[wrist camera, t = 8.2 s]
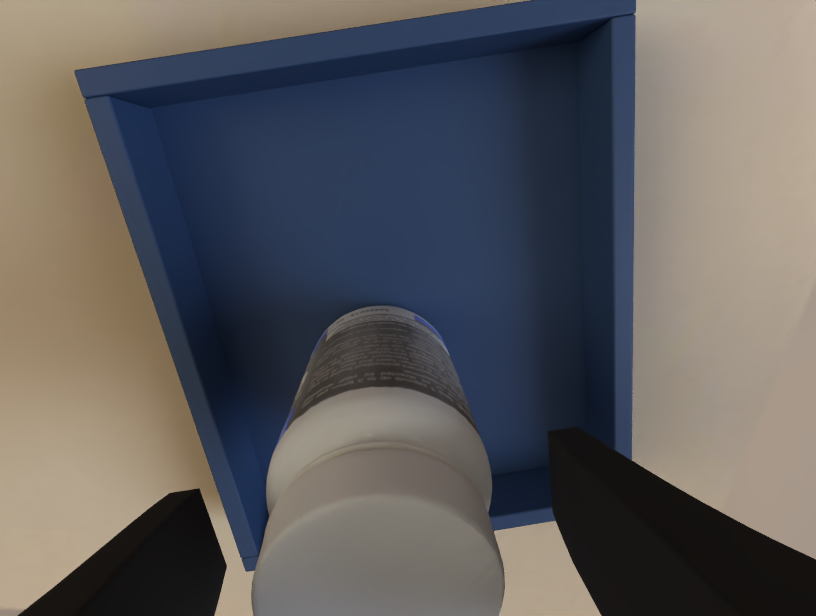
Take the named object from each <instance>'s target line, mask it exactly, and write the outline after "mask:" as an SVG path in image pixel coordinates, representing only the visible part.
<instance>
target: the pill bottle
mask: <svg viewBox="0 0 816 616" xmlns="http://www.w3.org/2000/svg"><path fill="white" fill-rule="evenodd" d="M491 495H492V476H491V469H490V464H489V460H488V456H487V453H486V450H485V447H484V444H483V442H482V439H481V436H480V434H479V432H478V430H477V426H476V423H475V421H474V419H473V416H472V414H471V411H470V407H469V404H468V400H467V398H466V396H465V393H464V391H463V387H462V385H461V383H460V380H459V376H458V374H457V372H456V370H455V367H454V365H453V362H452V360H451V357H450V355H449V352H448V349H447V347H446V345H445V343H444V341H443V339H442V338H441V336H440V335H439V333H438V332H437V331H436V330H435V328H434V327H433V326H432V325H430V324H429V323H428V322H427V321H426V320H425V319H423V318H422V317H420V316H418V315H417V314H415V313H413V312H410V311H408V310H406V309H402V308H399V307H394V306H371V307H365V308H361V309H358V310H355V311H352V312H350V313H348V314H346V315H344V316H342V317H341V318H339V319H338V320H336V321H335V322H334V323H333V324H332V325H331V326H330V327H329V328H328V329H327V330H326V331H325V332H324V333H323V335H322V336H321V338H320V339H319V341H318V343H317V345H316V347H315V349H314V351H313V353H312V355H311V358H310V361H309V363H308V365H307V368H306V371H305V374H304V376H303V379H302V381H301V383H300V386H299V389H298V391H297V394H296V397H295V400H294V402H293V405H292V407H291V410H290V413H289V416H288V418H287V420H286V423H285V425H284V427H283V430H282V432H281V435H280V437H279V440H278V442H277V444H276V447H275V450H274V452H273V455H272V458H271V462H270V465H269V470H268V475H267V484H266V499H267V508H268V512H269V516H270V517H269V519H268V523H267V526H266V529H265V534H264V539H263V543H262V547H261V551H260V555H259V558H258V561H257V565H256V568H255V572H254V577H253V581H252V593H251V596H252V608H253V614H254V616H498V615H499V612H500V609H501V607H502V602H503V597H504V589H505V580H504V567H503V562H502V558H501V555H500V551H499V548H498V545H497V541H496V538H495V535H494V531H493V528H492V524H491V521H490V517H489V514H488V511H489V507H490V503H491Z"/></svg>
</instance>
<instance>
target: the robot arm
mask: <svg viewBox="0 0 816 616" xmlns="http://www.w3.org/2000/svg"><path fill="white" fill-rule="evenodd" d="M547 432H548V449H549V465H550V481H551V497H552V512H553V515H554V517H555V520H556V522H557V525H558V527H559V530H560V532H561V535H562V537H563V540H564V542H565V544H566V547H567V549H568V552H569V554H570V556H571V559H572V561H573V563H574V565H575V567H576V569H577V571H578V573H579V575H580V576H581V578H582V580H583V582H584V584H585V586H586V588H587V589H588V591H589V593H590V595H591V597H592V599H593V601H594V602H595V604H596V606H597V608H598V610H599V612H600V614H601V615H602V616H816V560H815V559H813V558H811V557H809V556H807V555H805V554H803V553H801V552H799V551H796V550H794V549H792V548H790V547H788V546H786V545H784V544H782V543H780V542H777V541H775V540H773V539H771V538H769V537H767V536H765V535H763V534H761V533H759V532H757V531H755V530H753V529H751V528H749V527H747V526H745V525H744V524H742V523H740V522H738V521H736V520H734V519H732V518H730V517H729V516H727V515H725V514H723V513H721V512H719V511H718V510H716V509H714V508H712V507H710V506H708V505H706V504H705V503H703V502H701V501H699V500H697V499H696V498H694V497H692V496H690V495H689V494H687V493H685V492H683V491H682V490H680V489H678V488H676V487H675V486H673V485H671V484H670V483H668V482H666V481H665V480H663V479H661V478H660V477H658V476H656V475H655V474H653V473H651V472H650V471H648V470H646V469H645V468H643V467H641V466H640V465H638V464H636V463H635V462H633V461H632V460H630V459H628V458H627V457H625V456H624V455H622V454H620V453H619V452H617V451H616V450H614V449H613V448H611V447H609V446H608V445H606V444H605V443H603V442H601V441H600V440H598V439H597V438H595V437H593V436H592V435H590V434H589V433H587V432H585V431H584V430H582V429H580V428H578V427H571V428H564V429H558V430H552V431H547ZM226 568H227V565H226V562H225V560H224V557H223V554H222V551H221V548H220V545H219V543H218V540H217V537H216V534H215V531H214V528H213V526H212V523H211V520H210V517H209V514H208V511H207V509H206V506H205V503H204V500H203V497H202V495H201V492H200V489H193V490H187V491H180V492H174V493H169V494H168V495H167V496H165V497H164V498H162V499H161V500H160V501H158V502H157V503H156V504H154V505H153V506H152V507H151V508H149V509H148V510H147V511H146V512H144V513H143V514H142V515H141V516H139V517H138V518H137V519H136V520H134V521H133V522H132V523H131V524H130V525H128V526H127V527H126V528H125V529H123V530H122V531H121V532H120V533H119V534H117V535H116V536H115V537H114V538H113V539H111V540H110V541H109V542H108V543H107V544H105V545H104V546H103V547H102V548H101V549H99V550H98V551H97V552H96V553H95V554H93V555H92V556H91V557H90V558H89V559H87V560H86V561H85V562H84V563H83V564H81V565H80V566H79V567H78V568H77V569H75V570H74V571H73V572H72V573H70V574H69V575H68V576H67V577H66V578H64V579H63V580H62V581H61V582H60V583H58V584H57V585H56V586H55V587H53V588H52V589H51V590H50V591H48V592H47V593H46V594H45V595H43V596H42V597H41V598H40V599H38V600H37V601H36V602H34V603H33V604H32V605H31V606H29V607H28V608H27V609H26V610H24V611H23V612H22V613H21V614H19V615H18V616H214V615H215V611H216V607H217V604H218V600H219V596H220V592H221V588H222V584H223V580H224V576H225V572H226Z"/></svg>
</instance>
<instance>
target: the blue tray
mask: <svg viewBox="0 0 816 616" xmlns="http://www.w3.org/2000/svg"><path fill="white" fill-rule="evenodd" d="M635 12H636V0H530V1H524V2H517V3H511V4H504V5H498V6H491V7H485V8H478V9H472V10H465V11H459V12H452V13H445V14H439V15H432V16H426V17H419V18H413V19H406V20H400V21H393V22H387V23H380V24H374V25H367V26H361V27H354V28H348V29H341V30H335V31H328V32H321V33H315V34H308V35H302V36H295V37H289V38H282V39H276V40H269V41H263V42H256V43H250V44H243V45H237V46H230V47H224V48H217V49H210V50H204V51H197V52H191V53H184V54H178V55H171V56H165V57H158V58H152V59H145V60H139V61H132V62H126V63H119V64H113V65H106V66H100V67H93V68H86V69H80V70H75V75H76V78H77V81H78V84H79V87H80V90H81V93H82V96H83V97H84V98H86V99H85V104H86V107H87V110H88V113H89V116H90V118H91V121H92V124H93V127H94V130H95V133H96V136H97V139H98V142H99V145H100V148H101V151H102V154H103V156H104V159H105V162H106V165H107V168H108V171H109V174H110V177H111V180H112V183H113V186H114V189H115V191H116V194H117V197H118V200H119V203H120V206H121V209H122V212H123V215H124V218H125V221H126V224H127V227H128V229H129V232H130V235H131V238H132V241H133V244H134V247H135V250H136V253H137V256H138V259H139V262H140V264H141V267H142V270H143V273H144V276H145V279H146V282H147V285H148V288H149V291H150V294H151V297H152V300H153V302H154V305H155V308H156V311H157V314H158V317H159V320H160V323H161V326H162V329H163V332H164V335H165V337H166V340H167V343H168V346H169V349H170V352H171V355H172V358H173V361H174V364H175V367H176V370H177V373H178V375H179V378H180V381H181V384H182V387H183V390H184V393H185V396H186V399H187V402H188V405H189V408H190V410H191V413H192V416H193V419H194V422H195V425H196V428H197V431H198V434H199V437H200V440H201V443H202V446H203V448H204V451H205V454H206V457H207V460H208V463H209V466H210V469H211V472H212V475H213V478H214V481H215V483H216V486H217V489H218V492H219V495H220V498H221V501H222V504H223V507H224V510H225V513H226V516H227V519H228V521H229V524H230V527H231V530H232V533H233V536H234V539H235V542H236V545H237V548H238V551H239V554H240V557H241V558H242V562H243V565H244V568H245V571H247V572H248V571H254V570H255V568H256V565H257V561H258V558H259V555H260V551H261V547H262V543H263V539H264V534H265V529H266V526H267V523H268V519H269V517H270V516H269V512H268V508H267V499H266V484H267V475H268V470H269V465H270V462H271V458H272V455H273V452H274V450H275V447H276V444H277V442H278V440H279V437H280V435H281V432H282V430H283V427H284V425H285V423H286V420H287V418H288V416H289V413H290V410H291V407H292V405H293V402H294V400H295V397H296V394H297V391H298V389H299V386H300V383H301V381H302V379H303V376H304V374H305V371H306V368H307V365H308V363H309V361H310V358H311V355H312V353H313V351H314V349H315V347H316V345H317V343H318V341H319V339H320V338H321V336H322V335H323V333H324V332H325V331H326V330H327V329H328V328H329V327H330V326H331V325H332V324H333V323H334V322H335V321H336V320H338V319H339V318H341V317H342V316H344V315H346V314H348V313H350V312H352V311H355V310H358V309H361V308H365V307H371V306H394V307H399V308H402V309H406V310H408V311H410V312H413V313H415V314H417V315H418V316H420V317H422V318H423V319H425V320H426V321H427V322H428V323H429V324H430V325H432V326H433V327H434V328H435V330H436V331H437V332H438V333H439V335H440V336H441V338H442V339H443V341H444V343H445V345H446V347H447V349H448V352H449V355H450V357H451V360H452V362H453V365H454V367H455V370H456V372H457V374H458V376H459V380H460V383H461V385H462V387H463V391H464V393H465V396H466V398H467V400H468V404H469V407H470V411H471V414H472V416H473V419H474V421H475V423H476V426H477V430H478V432H479V434H480V436H481V439H482V442H483V444H484V447H485V450H486V453H487V456H488V460H489V464H490V469H491V476H492V495H491V503H490V507H489V511H488V514H489V517H490V521H491V524H492V528H493V531H495V530H501V529H507V528H514V527H520V526H526V525H532V524H538V523H544V522H550V521H556V520H555V517H554V515H553V512H552V497H551V481H550V465H549V449H548V432H547V431H552V430H558V429H564V428H571V427H578V428H580V429H582V430H584V431H585V432H587V433H589V434H590V435H592V436H593V437H595V438H597V439H598V440H600V441H601V442H603V443H605V444H606V445H608V446H609V447H611V448H613V449H614V450H616V451H617V452H619V453H620V454H622V455H624V456H625V457H627V458H628V459H630V460H632V367H633V248H634V128H635V15H633V14H634V13H635Z"/></svg>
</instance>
